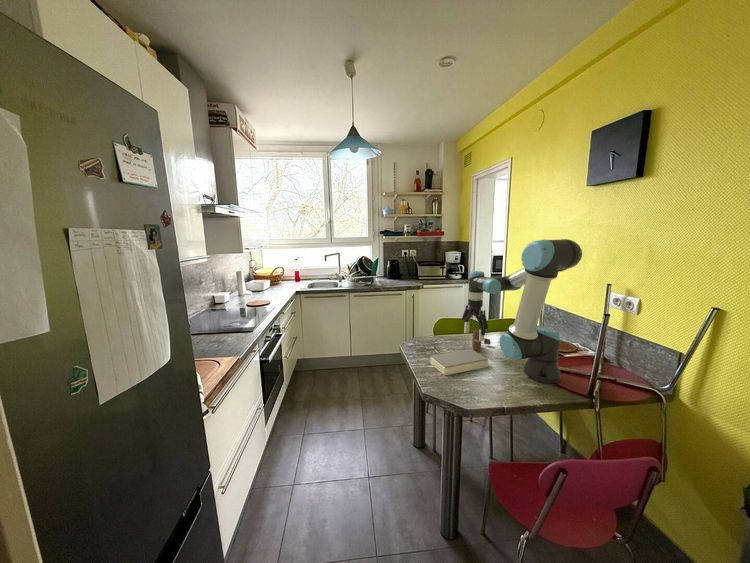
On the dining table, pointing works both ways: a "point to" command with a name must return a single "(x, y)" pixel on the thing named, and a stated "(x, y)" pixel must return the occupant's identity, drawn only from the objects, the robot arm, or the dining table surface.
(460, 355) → the two-tone flat slab
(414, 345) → the dining table surface
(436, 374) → the dining table surface
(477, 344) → the wooden block set
